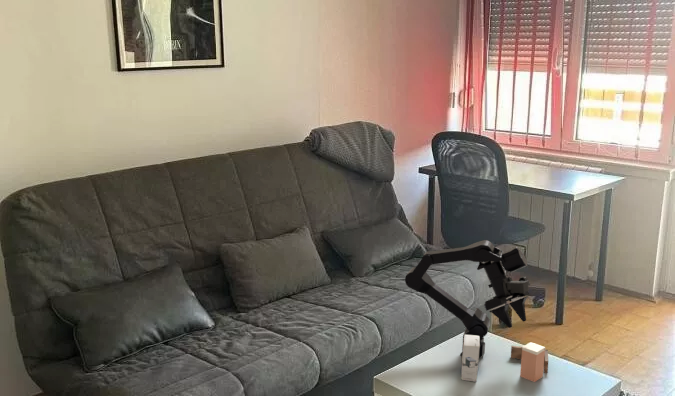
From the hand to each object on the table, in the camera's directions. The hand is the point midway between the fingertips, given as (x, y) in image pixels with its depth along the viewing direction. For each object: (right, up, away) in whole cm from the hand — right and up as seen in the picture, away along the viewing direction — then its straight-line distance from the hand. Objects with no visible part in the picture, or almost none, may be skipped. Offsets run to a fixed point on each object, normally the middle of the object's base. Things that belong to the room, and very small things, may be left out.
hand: (517, 324), depth 210 cm
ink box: (-16, -16, -1) cm, 22 cm away
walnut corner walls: (+5, -14, +6) cm, 16 cm away
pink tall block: (+4, -16, -2) cm, 17 cm away
